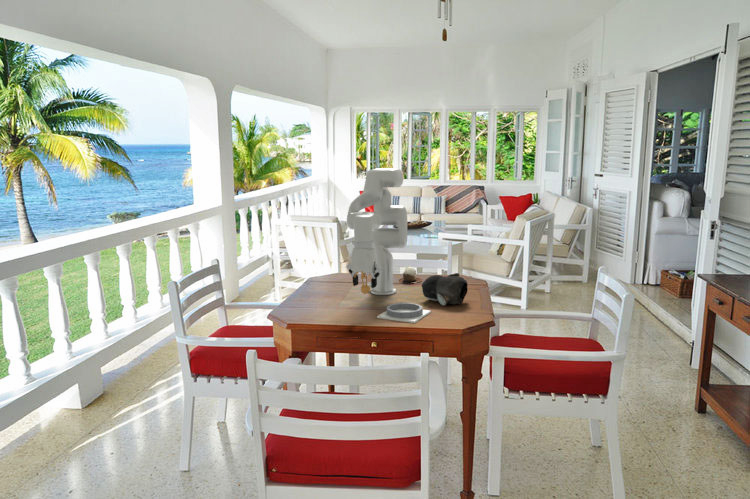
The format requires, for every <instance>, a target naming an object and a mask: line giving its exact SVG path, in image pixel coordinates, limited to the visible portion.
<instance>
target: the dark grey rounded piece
mask: <svg viewBox="0 0 750 499" xmlns="http://www.w3.org/2000/svg"><path fill="white" fill-rule="evenodd" d="M421 288H422V294H423V297H425V299H426V298H427V299H429V300H431V301H433V302H439V304H440V305H441V306H446V305H447V304H449V305H457V304H459V305H461V306H462V305H463V302H464V300H465V297H466V296H467V294H468V281H467V280H466V279H465V278H464V277H462V276H460V273H458V272H455V273H452V274H449V275H447V276H443V275H438V274H437V275H436V274H434V275H430V276H429V277H427V278H426V279H425V280H424V281H423V282H422V283H421Z"/></svg>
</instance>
